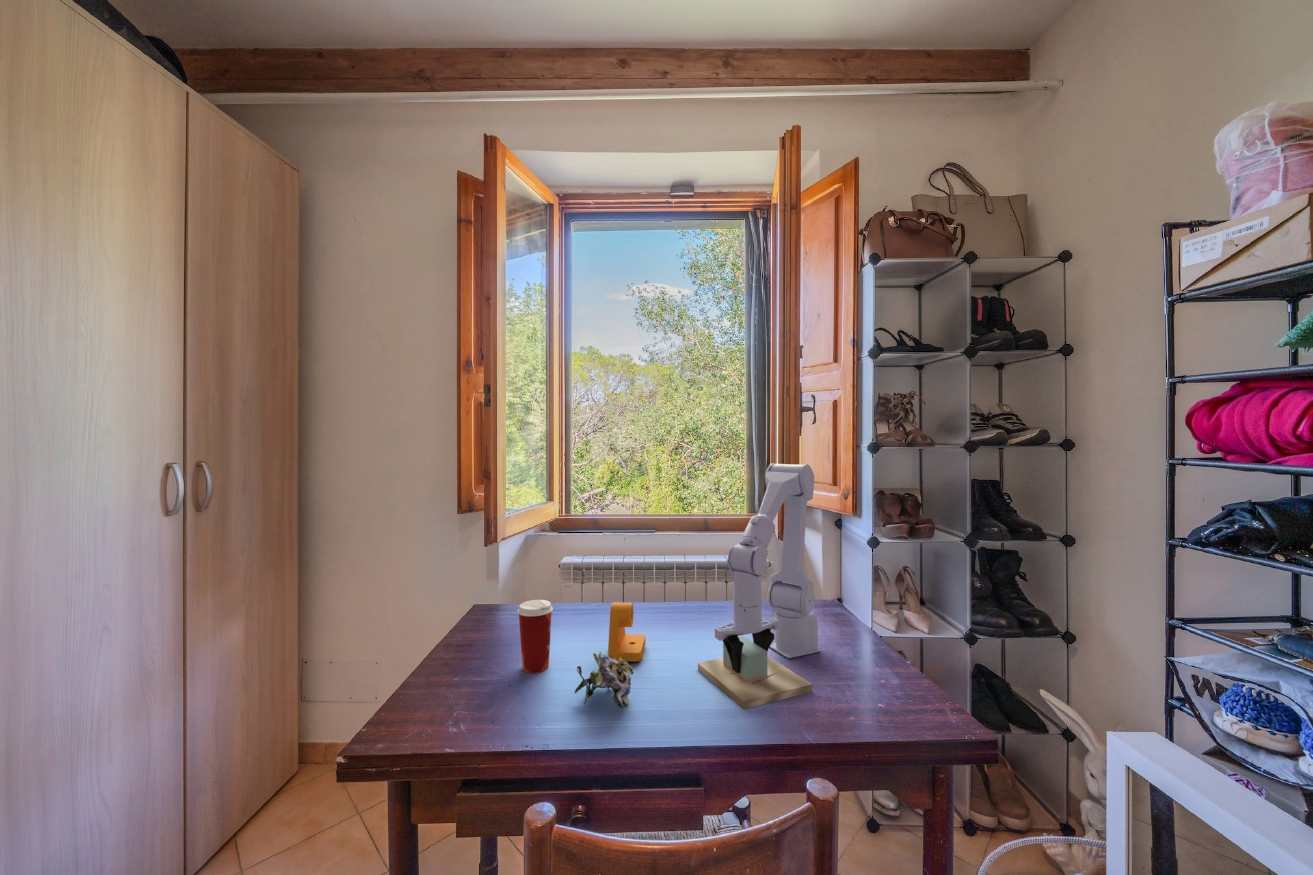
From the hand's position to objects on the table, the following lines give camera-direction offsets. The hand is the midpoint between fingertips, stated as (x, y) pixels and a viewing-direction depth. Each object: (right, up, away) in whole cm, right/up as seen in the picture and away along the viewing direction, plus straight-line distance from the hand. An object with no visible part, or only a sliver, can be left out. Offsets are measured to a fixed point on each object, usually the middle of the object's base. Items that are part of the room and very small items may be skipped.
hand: (747, 668), depth 109 cm
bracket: (-26, -3, +14) cm, 29 cm away
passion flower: (-29, -3, -8) cm, 30 cm away
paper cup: (-46, -3, +7) cm, 46 cm away
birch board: (+1, -3, 0) cm, 3 cm away
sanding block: (0, -1, +1) cm, 2 cm away
